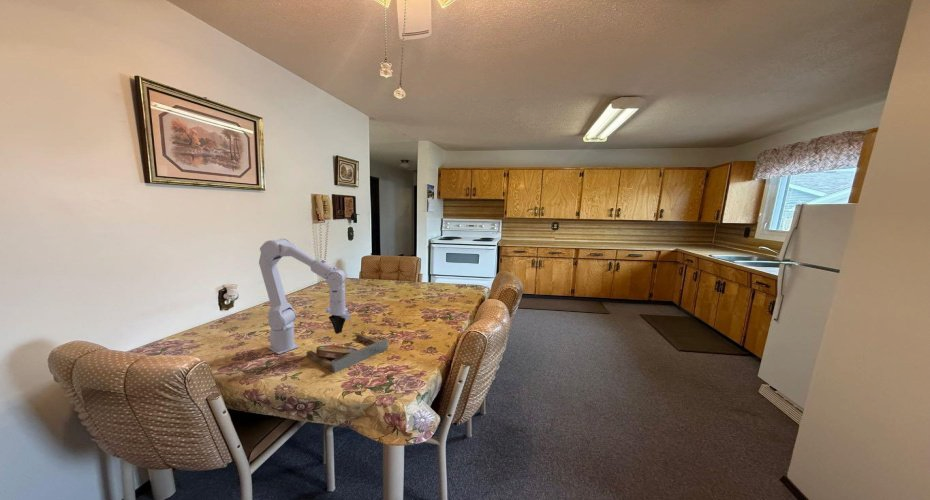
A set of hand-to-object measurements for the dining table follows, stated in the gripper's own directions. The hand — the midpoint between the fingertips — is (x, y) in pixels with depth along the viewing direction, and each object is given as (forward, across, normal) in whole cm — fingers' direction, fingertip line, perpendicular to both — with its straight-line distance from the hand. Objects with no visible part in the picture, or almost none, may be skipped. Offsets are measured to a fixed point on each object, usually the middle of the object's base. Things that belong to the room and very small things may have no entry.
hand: (338, 332), depth 121 cm
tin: (+5, -5, +2) cm, 8 cm away
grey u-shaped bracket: (+7, -6, 0) cm, 9 cm away
